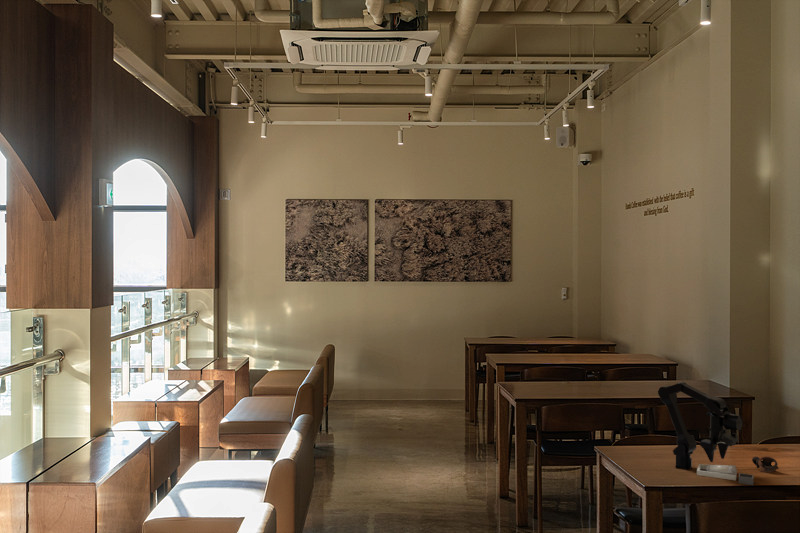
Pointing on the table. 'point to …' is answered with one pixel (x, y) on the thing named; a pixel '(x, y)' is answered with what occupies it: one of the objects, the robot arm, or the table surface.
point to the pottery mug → (765, 464)
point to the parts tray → (713, 474)
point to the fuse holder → (745, 479)
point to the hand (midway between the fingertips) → (717, 460)
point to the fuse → (722, 469)
